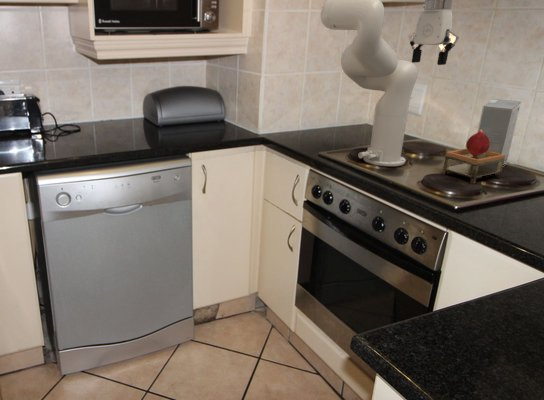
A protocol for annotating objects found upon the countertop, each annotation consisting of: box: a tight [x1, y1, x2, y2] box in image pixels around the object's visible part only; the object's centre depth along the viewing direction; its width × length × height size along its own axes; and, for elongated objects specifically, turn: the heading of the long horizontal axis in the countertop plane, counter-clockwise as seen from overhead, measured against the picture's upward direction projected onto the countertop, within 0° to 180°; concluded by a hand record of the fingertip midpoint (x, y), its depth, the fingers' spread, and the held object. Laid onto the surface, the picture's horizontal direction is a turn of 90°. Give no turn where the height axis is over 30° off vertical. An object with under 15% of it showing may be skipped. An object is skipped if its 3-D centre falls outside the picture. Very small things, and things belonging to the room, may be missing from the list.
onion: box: [465, 129, 490, 157], centre depth 138 cm, size 6×6×8 cm
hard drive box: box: [476, 98, 522, 176], centre depth 146 cm, size 16×8×20 cm, turn 139°
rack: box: [441, 147, 506, 185], centre depth 141 cm, size 12×10×7 cm
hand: (428, 63), depth 154 cm, fingers open, 9 cm apart
